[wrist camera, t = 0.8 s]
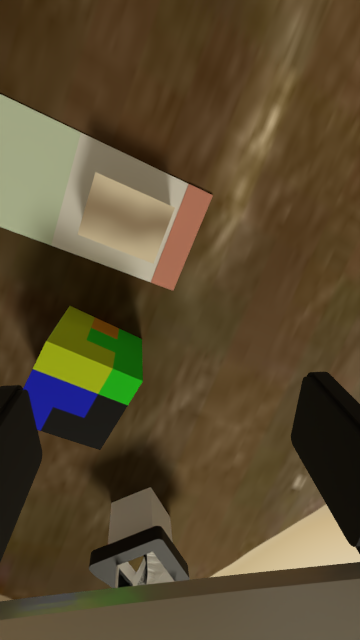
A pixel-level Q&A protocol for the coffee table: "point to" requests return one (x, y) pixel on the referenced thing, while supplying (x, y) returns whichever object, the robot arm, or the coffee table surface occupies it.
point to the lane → (69, 184)
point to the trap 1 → (181, 237)
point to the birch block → (124, 218)
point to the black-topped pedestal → (138, 544)
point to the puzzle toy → (84, 378)
